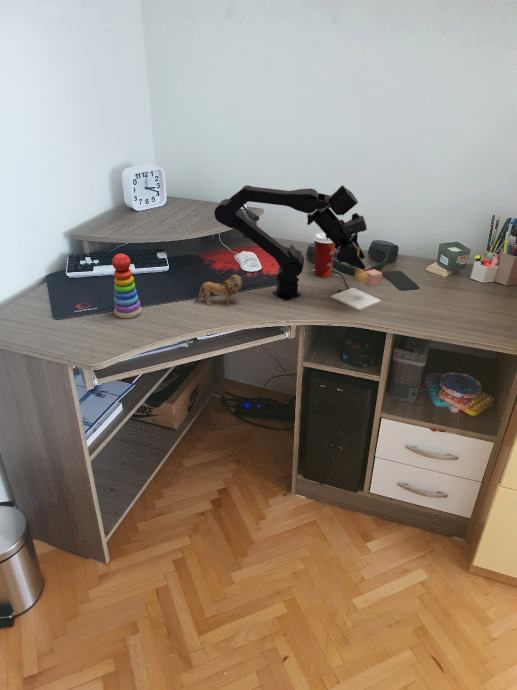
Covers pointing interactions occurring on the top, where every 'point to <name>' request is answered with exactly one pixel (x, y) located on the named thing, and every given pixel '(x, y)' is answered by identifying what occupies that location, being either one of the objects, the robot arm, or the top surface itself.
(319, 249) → the paper cup
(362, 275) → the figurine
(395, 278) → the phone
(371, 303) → the mat
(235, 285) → the lion figurine
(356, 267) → the walnut block
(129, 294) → the stacking toy
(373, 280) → the terracotta block
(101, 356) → the top surface
